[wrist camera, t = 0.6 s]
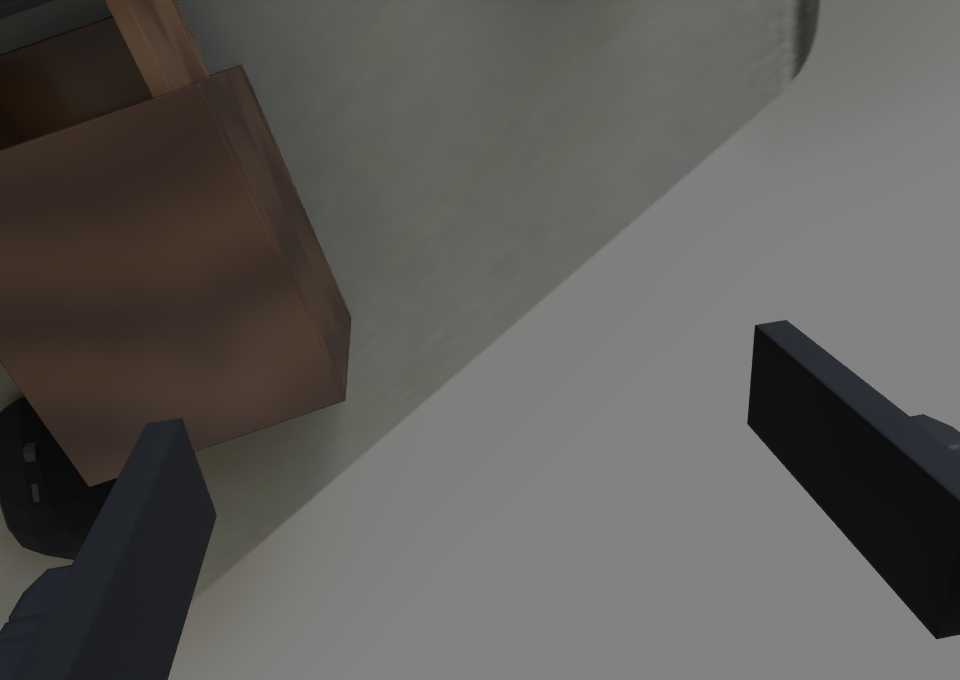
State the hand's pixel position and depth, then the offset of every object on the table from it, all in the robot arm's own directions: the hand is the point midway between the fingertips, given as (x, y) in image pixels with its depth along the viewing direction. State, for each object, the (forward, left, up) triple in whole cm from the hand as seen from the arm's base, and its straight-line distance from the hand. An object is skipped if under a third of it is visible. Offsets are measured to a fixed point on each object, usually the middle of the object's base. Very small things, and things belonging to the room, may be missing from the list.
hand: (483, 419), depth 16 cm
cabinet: (0, -13, -25) cm, 28 cm away
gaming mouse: (+11, -25, -26) cm, 38 cm away
